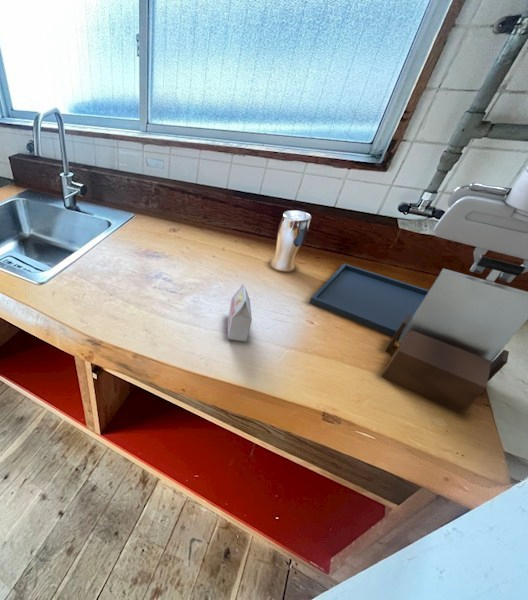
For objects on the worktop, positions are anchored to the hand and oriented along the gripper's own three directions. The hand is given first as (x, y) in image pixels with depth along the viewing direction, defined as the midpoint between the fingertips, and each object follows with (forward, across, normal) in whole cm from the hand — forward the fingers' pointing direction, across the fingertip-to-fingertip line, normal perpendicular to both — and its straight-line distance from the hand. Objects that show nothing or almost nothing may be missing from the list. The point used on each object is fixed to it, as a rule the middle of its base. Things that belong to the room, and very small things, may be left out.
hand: (489, 275), depth 55 cm
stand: (+16, +1, -12) cm, 20 cm away
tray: (+17, -10, +7) cm, 20 cm away
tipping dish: (+5, 0, -6) cm, 8 cm away
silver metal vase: (+18, -36, +7) cm, 40 cm away
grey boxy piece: (+17, -30, -24) cm, 42 cm away
